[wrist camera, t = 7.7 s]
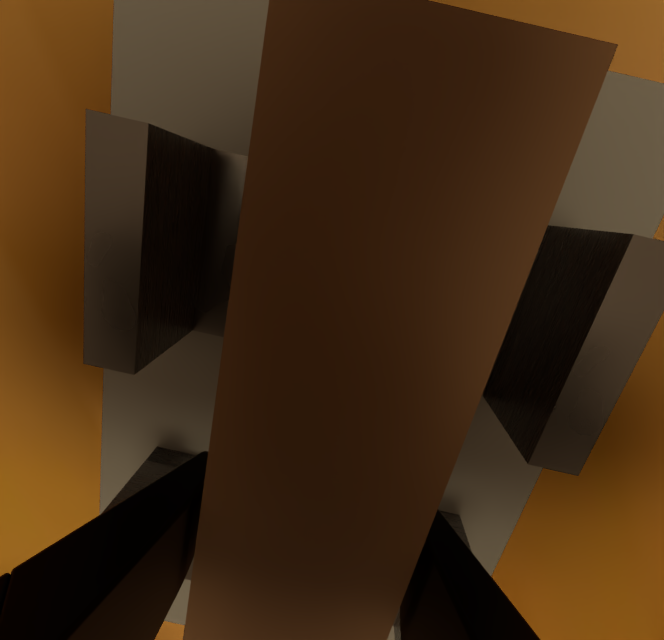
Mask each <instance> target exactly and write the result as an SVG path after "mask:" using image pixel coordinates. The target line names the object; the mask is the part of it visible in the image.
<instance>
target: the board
mask: <svg viewBox="0 0 664 640" xmlns="http://www.w3.org/2000/svg"><path fill="white" fill-rule="evenodd" d="M268 5H269V0H114V16H113V52H112V88H111V115H115V116H119V117H123V118H128V119H132V120H137V121H141V122H145V123H149V124H152V125H154V126H157V127H159V128H162V129H165V130H167V131H170V132H172V133H175V134H177V135H180V136H182V137H185V138H188V139H190V140H193V141H195V142H198V143H200V144H203V145H205V146H208V147H211V148H214V149H218V150H222V151H227V152H231V153H236V154H240V155H244V156H248V154H249V146H250V139H251V131H252V124H253V116H254V109H255V102H256V94H257V87H258V79H259V72H260V65H261V57H262V50H263V42H264V35H265V27H266V20H267V13H268ZM663 215H664V83H659V82H655V81H651V80H646V79H642V78H638V77H633V76H629V75H625V74H620V73H616V72H612V71H608V72H607V74H606V77H605V79H604V82H603V84H602V87H601V90H600V92H599V95H598V97H597V100H596V103H595V105H594V108H593V110H592V113H591V115H590V118H589V121H588V123H587V126H586V128H585V131H584V133H583V136H582V139H581V141H580V144H579V146H578V149H577V151H576V154H575V157H574V159H573V162H572V164H571V167H570V170H569V172H568V175H567V177H566V180H565V182H564V185H563V188H562V190H561V193H560V195H559V198H558V200H557V203H556V206H555V208H554V211H553V213H552V216H551V218H550V221H549V224H548V225H551V226H561V227H570V228H579V229H589V230H598V231H608V232H617V233H626V234H635V235H639V236H643V237H648V238H653V236H654V234H655V232H656V230H657V228H658V226H659V224H660V222H661V220H662V217H663ZM223 339H224V337H220V336H216V335H211V334H207V333H203V332H198V331H194V330H193V331H191V332H190V333H189V334H187V335H186V336H185V337H184V338H182V339H181V340H180V341H178V342H177V343H176V344H174V345H173V346H172V347H170V348H169V349H168V350H166V351H165V352H164V353H163V354H161V355H160V356H159V357H157V358H156V359H155V360H153V361H152V362H151V363H149V364H148V365H147V366H146V367H144V368H143V369H142V370H140V371H139V372H138V373H136V374H135V375H132V374H127V373H123V372H118V371H114V370H110V369H105V368H104V376H103V412H102V448H101V484H100V515H101V513H102V512H103V511H104V510H105V509H106V507H107V506H108V505H109V504H110V503H111V501H112V500H113V499H114V498H115V496H116V495H117V494H118V493H119V492H120V490H121V489H122V488H123V487H124V486H125V484H126V483H127V482H128V481H129V480H130V478H131V477H132V476H133V475H134V474H135V472H136V471H137V470H138V469H139V468H140V466H141V465H142V464H143V463H144V461H145V460H146V459H147V458H148V457H149V455H150V454H151V453H152V452H153V451H154V449H155V448H156V447H157V446H158V447H162V448H167V449H171V450H175V451H180V452H184V453H189V454H193V455H197V454H199V453H200V452H203V451H209V443H210V436H211V428H212V421H213V413H214V406H215V399H216V391H217V384H218V376H219V369H220V361H221V354H222V347H223ZM542 469H543V468H542V467H537V466H533V465H528V464H527V462H526V461H525V459H524V458H523V456H522V455H521V453H520V452H519V450H518V449H517V447H516V446H515V444H514V443H513V441H512V440H511V438H510V437H509V435H508V433H507V432H506V430H505V429H504V427H503V426H502V424H501V423H500V421H499V420H498V418H497V417H496V415H495V414H494V412H493V411H492V409H491V408H490V406H489V405H488V403H487V402H486V400H485V398H484V397H483V396H481V399H480V401H479V404H478V407H477V409H476V412H475V414H474V417H473V419H472V422H471V425H470V427H469V430H468V432H467V435H466V438H465V440H464V443H463V445H462V448H461V450H460V453H459V456H458V458H457V461H456V463H455V466H454V468H453V471H452V474H451V476H450V479H449V481H448V484H447V487H446V489H445V492H444V494H443V497H442V499H441V502H440V505H439V507H438V509H439V510H440V511H445V512H449V513H454V514H458V515H460V517H461V520H462V523H463V527H464V530H465V533H466V536H467V539H468V542H469V545H470V548H471V551H472V553H473V554H474V555H475V557H476V558H477V559H478V561H479V562H480V563H481V564H482V566H483V567H484V568H485V569H486V571H487V572H488V573H489V575H490V576H491V575H492V573H493V571H494V569H495V567H496V565H497V563H498V561H499V559H500V557H501V555H502V552H503V550H504V548H505V546H506V544H507V542H508V540H509V538H510V536H511V534H512V532H513V529H514V527H515V525H516V523H517V521H518V519H519V517H520V515H521V513H522V511H523V508H524V506H525V504H526V502H527V500H528V498H529V496H530V494H531V492H532V490H533V488H534V485H535V483H536V481H537V479H538V477H539V475H540V473H541V471H542ZM190 584H191V580H186V579H185V580H184V582H183V584H182V586H181V588H180V590H179V592H178V594H177V596H176V598H175V600H174V602H173V604H172V606H171V608H170V610H169V612H168V614H167V616H166V618H165V620H164V621H168V622H173V623H177V624H182V625H185V621H186V614H187V606H188V599H189V592H190ZM387 640H395V636H394V626H392V628H391V631H390V633H389V636H388V639H387Z"/></svg>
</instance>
